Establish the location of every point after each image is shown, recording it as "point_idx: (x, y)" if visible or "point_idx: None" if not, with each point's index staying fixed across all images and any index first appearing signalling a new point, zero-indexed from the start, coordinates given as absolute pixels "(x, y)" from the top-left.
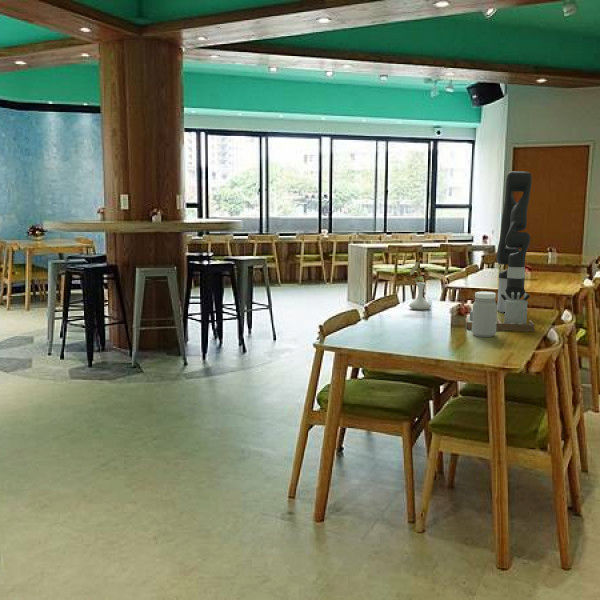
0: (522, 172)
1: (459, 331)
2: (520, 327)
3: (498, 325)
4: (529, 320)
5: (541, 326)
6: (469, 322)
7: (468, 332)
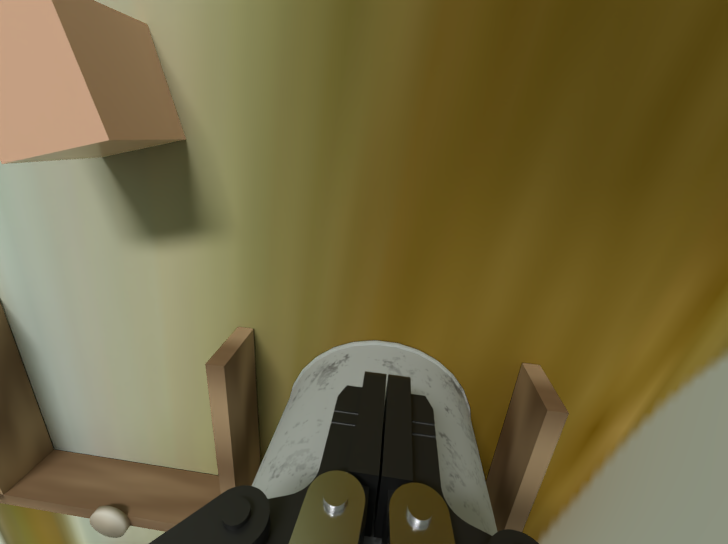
0: None
1: (30, 509)
2: None
3: None
4: (538, 434)
5: (662, 347)
6: (15, 504)
7: (82, 530)
